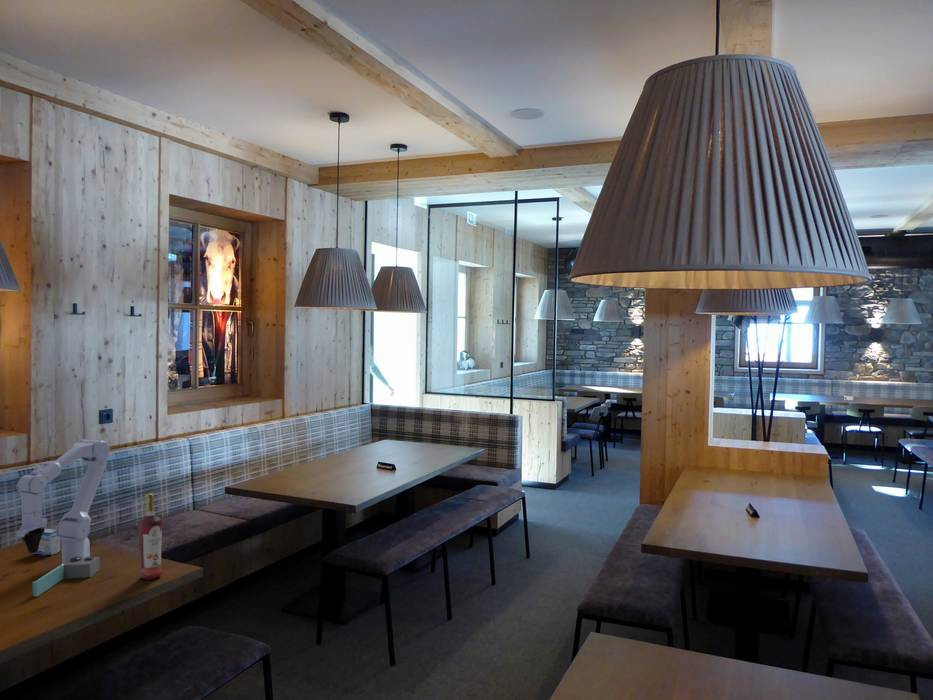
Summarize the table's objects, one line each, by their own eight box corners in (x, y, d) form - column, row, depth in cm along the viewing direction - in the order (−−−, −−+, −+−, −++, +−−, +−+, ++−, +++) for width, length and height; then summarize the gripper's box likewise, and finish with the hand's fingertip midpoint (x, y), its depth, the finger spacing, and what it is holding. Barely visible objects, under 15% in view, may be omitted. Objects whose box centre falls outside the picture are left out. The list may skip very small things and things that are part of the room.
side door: (59, 578, 226) (59, 563, 226) (65, 578, 226) (64, 563, 226) (31, 597, 210) (30, 581, 210) (37, 597, 211) (37, 581, 210)
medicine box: (32, 555, 249) (31, 531, 249) (41, 551, 254) (41, 528, 253) (51, 556, 248) (50, 532, 248) (60, 552, 253) (59, 529, 252)
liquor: (146, 583, 222) (144, 498, 220) (135, 578, 226) (132, 495, 225) (167, 576, 227) (165, 493, 226) (156, 571, 232) (154, 490, 231)
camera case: (72, 570, 233) (72, 556, 233) (99, 569, 234) (99, 555, 234) (62, 578, 226) (61, 563, 226) (90, 577, 227) (89, 562, 227)
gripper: (32, 517, 217) (33, 559, 218) (56, 505, 231) (57, 544, 232) (9, 518, 216) (10, 560, 217) (34, 505, 231) (35, 545, 231)
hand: (33, 552), depth 224 cm, fingers closed
